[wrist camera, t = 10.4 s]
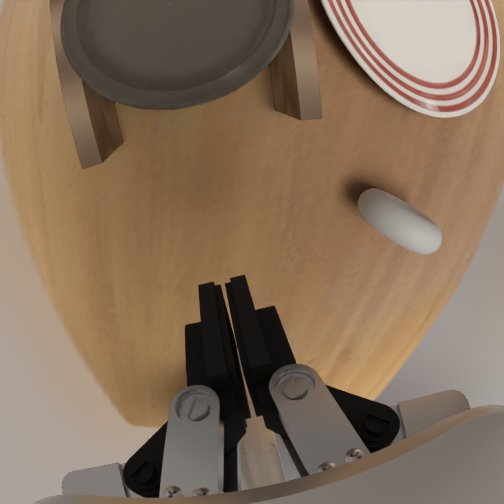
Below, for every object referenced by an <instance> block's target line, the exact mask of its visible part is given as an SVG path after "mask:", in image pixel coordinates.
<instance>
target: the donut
mask: <svg viewBox="0 0 504 504" xmlns="http://www.w3.org/2000/svg"><path fill="white" fill-rule="evenodd" d="M358 209H359V212H360V214H361V216H362V217H363V219H364V220H365V221H366V222H367V223H368V224H369V225H371V226H372V227H373V228H374V229H375V230H377V231H378V232H380V233H381V234H383V235H384V236H385V237H387V238H389V239H390V240H392V241H393V242H395V243H397V244H399V245H400V246H402V247H404V248H406V249H408V250H410V251H413V252H415V253H419V254H424V255H426V254H430V253H433V252H435V251H436V250H437V249H438V248H439V247H440V245H441V242H442V234H441V231H440V229H439V227H438V225H437V224H436V223H435V222H434V221H432V220H431V219H430V218H429V217H427V216H426V215H425V214H423V213H422V212H420V211H419V210H417V209H416V208H414V207H413V206H411V205H409V204H408V203H406V202H404V201H403V200H401V199H399V198H397V197H395V196H393V195H392V194H389V193H387V192H385V191H383V190H380V189H377V188H371V189H368V190H365V191H364V192H363V193H362V194H361V195H360V197H359V199H358Z"/></svg>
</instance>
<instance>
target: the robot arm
mask: <svg viewBox="0 0 504 504" xmlns="http://www.w3.org/2000/svg"><path fill="white" fill-rule="evenodd" d="M230 281H231V282H229V283H225V287H226V292H227V297H228V302H229V308H230V313H231V318H232V323H233V328H234V333H235V338H236V342H235V338H234V334H233V330H232V327H231V323H230V319H229V315H228V312H227V308H226V304H225V300H224V297H223V293H222V289H221V285H214V282H210V283H205V284H201V285H199V302H200V316H201V322H198V323H193V324H188V325H186V326H185V351H186V380H187V387H186V388H184V389H182V390H180V391H179V392H178V393H177V394H176V395H175V396H174V398H173V399H172V402H171V405H170V410H169V417H168V421H167V422H166V423H165V424H164V425H163V426H162V427H161V428H160V429H159V430H158V431H157V432H156V433H155V434H154V435H153V436H152V437H151V438H150V439H149V440H148V441H147V442H146V443H145V444H144V445H143V446H142V447H141V448H140V449H139V450H138V451H137V452H136V453H135V454H134V455H133V456H132V457H131V458H130V459H129V460H128V461H127V463H124V464H119V463H113V464H108V465H104V466H99V467H94V468H88V469H82V470H76V471H72V472H69V473H68V474H67V475H66V476H65V477H64V479H63V481H62V492H63V495H56V496H51V497H47V498H44V499H41V500H39V501H37V502H35V503H34V504H504V406H501V405H487V406H480V407H476V408H472V409H471V408H470V406H469V403H468V400H467V399H466V397H465V395H464V394H462V393H461V392H460V391H457V390H446V391H443V392H439V393H435V394H432V395H428V396H424V397H420V398H416V399H412V400H407V401H402V402H399V403H398V404H397V405H395V406H389V407H388V406H387V405H384V404H381V403H378V402H375V401H372V400H368V399H365V398H362V397H359V396H356V395H353V394H350V393H347V392H345V391H342V390H339V389H336V388H333V387H330V386H328V385H325V384H324V382H323V381H322V379H321V378H320V376H319V375H318V373H317V372H316V371H315V370H314V369H312V368H311V367H309V366H307V365H302V364H297V363H296V361H295V358H294V355H293V353H292V350H291V348H290V345H289V342H288V340H287V337H286V334H285V332H284V329H283V326H282V324H281V321H280V318H279V316H278V313H277V311H276V308H275V306H270V307H266V308H262V309H257V310H255V308H254V304H253V301H252V297H251V294H250V291H249V287H248V284H247V280H246V277H245V275H242V276H237V277H233V278H230ZM236 343H237V347H236ZM274 432H275V433H277V434H278V435H279V437H280V440H281V442H282V443H283V446H284V448H285V450H286V452H287V454H288V456H289V457H290V460H291V462H292V464H293V466H294V468H295V470H296V471H297V474H298V476H299V477H300V478H298V479H294V480H290V481H287V478H286V475H285V472H284V469H283V465H282V461H281V458H280V454H279V450H278V446H277V443H276V439H275V435H274Z"/></svg>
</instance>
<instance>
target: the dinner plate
mask: <svg viewBox="0 0 504 504" xmlns="http://www.w3.org/2000/svg"><path fill="white" fill-rule="evenodd" d="M321 3H322V5H323V7H324V9H325V11H326V13H327V16H328V18H329V19H330V21H331V23H332V25H333V27H334V29H335V31H336V32H337V34H338V36H339V37H340V39H341V40H342V42H343V43H344V45H345V46H346V48H347V49H348V51H349V52H350V53H351V55H352V56H353V57H354V59H355V60H356V61H357V62H358V64H359V65H360V66H361V67H362V68H363V70H364V71H365V72H366V73H367V74H368V75H369V76H370V78H371V79H372V80H373V81H375V82H376V83H377V84H378V85H379V86H380V87H381V88H382V89H383V90H384V91H385V92H387V93H388V94H389V95H390V96H392V97H393V98H394V99H396V100H397V101H399V102H400V103H402V104H403V105H405V106H407V107H409V108H411V109H413V110H415V111H417V112H420V113H422V114H425V115H429V116H434V117H442V118H448V117H456V116H460V115H463V114H465V113H467V112H469V111H471V110H473V109H474V108H475V107H477V106H478V105H479V104H480V103H481V102H482V101H483V100H484V98H485V97H486V96H487V94H488V93H489V91H490V89H491V87H492V85H493V83H494V80H495V77H496V74H497V70H498V65H499V57H500V38H499V29H498V24H497V19H496V15H495V11H494V8H493V5H492V2H491V0H321Z"/></svg>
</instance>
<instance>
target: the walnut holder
mask: <svg viewBox="0 0 504 504" xmlns="http://www.w3.org/2000/svg"><path fill="white" fill-rule="evenodd" d="M64 1H65V0H50V12H51V23H52V32H53V40H54V48H55V54H56V61H57V67H58V72H59V78H60V83H61V88H62V93H63V98H64V102H65V107H66V111H67V115H68V119H69V123H70V127H71V131H72V135H73V138H74V142H75V145H76V149H77V152H78V156H79V159H80V162H81V166H82V169H85V168H88V167H91V166H94V165H97V164H100V163H103V162H104V161H105V160H106V159H107V158H108V157H109V156H110V155H111V154H112V153H113V152H114V151H115V150H116V149H117V148H118V147H119V146H120V145H121V144H122V143H123V139H122V135H121V131H120V127H119V123H118V119H117V114H116V110H115V106H114V101H112V100H110V99H108V98H106V97H104V96H102V95H100V94H99V93H97V92H96V91H94V90H93V89H91V88H90V87H89V86H88V85H87V84H86V83H84V82H83V81H82V79H81V78H80V77H79V76H78V75H77V74H76V72H75V71H74V70H73V68H72V67H71V65H70V63H69V61H68V60H67V58H66V55H65V53H64V50H63V46H62V42H61V32H60V24H61V14H62V9H63V5H64ZM269 66H270V73H271V80H272V88H273V96H274V104H275V111H278V112H281V113H283V114H286V115H288V116H291V117H294V118H296V119H299V120H301V121H302V120H311V119H322V109H321V98H320V87H319V77H318V68H317V60H316V52H315V44H314V37H313V29H312V23H311V16H310V10H309V4H308V0H295V8H294V16H293V22H292V25H291V28H290V30H289V33H288V36H287V38H286V40H285V42H284V44H283V46H282V47H281V49H280V51H279V52H278V53H277V55H276V56H275V57H274V59H273V60H272V61H271V62H270V63H269Z"/></svg>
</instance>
